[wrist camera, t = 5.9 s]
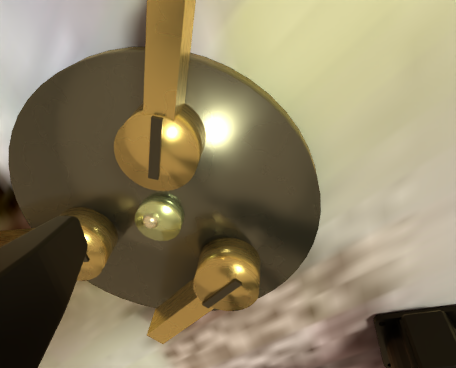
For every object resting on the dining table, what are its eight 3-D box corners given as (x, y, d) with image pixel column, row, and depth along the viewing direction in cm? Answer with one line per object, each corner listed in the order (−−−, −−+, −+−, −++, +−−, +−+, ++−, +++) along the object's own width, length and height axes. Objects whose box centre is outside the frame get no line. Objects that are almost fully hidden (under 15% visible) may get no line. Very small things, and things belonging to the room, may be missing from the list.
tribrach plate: (344, 277, 24) (352, 311, 22) (116, 312, 30) (102, 343, 27) (266, -16, 15) (265, -10, 13) (-45, 110, 20) (-86, 130, 18)
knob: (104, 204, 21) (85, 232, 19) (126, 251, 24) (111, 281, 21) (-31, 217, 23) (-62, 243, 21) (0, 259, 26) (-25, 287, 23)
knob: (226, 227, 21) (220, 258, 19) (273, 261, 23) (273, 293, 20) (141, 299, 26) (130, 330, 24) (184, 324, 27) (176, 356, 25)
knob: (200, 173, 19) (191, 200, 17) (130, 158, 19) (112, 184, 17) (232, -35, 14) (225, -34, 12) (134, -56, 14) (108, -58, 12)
